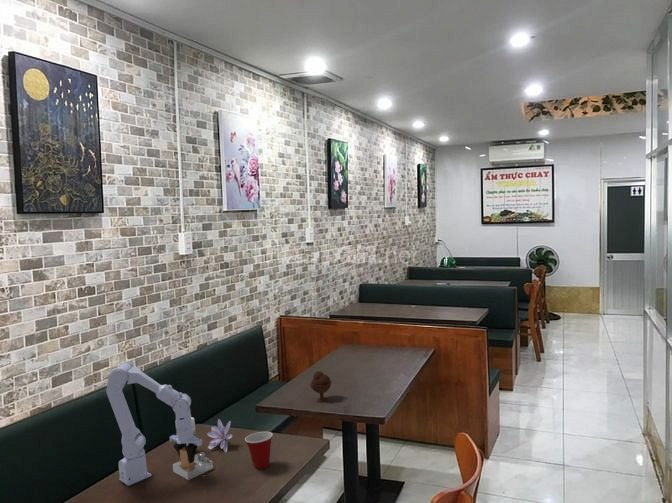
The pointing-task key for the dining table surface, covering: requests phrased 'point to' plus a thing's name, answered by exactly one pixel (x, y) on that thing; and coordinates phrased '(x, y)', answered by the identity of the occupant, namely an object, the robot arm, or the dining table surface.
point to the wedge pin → (185, 459)
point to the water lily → (220, 435)
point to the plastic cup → (260, 448)
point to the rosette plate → (194, 467)
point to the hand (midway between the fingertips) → (187, 461)
